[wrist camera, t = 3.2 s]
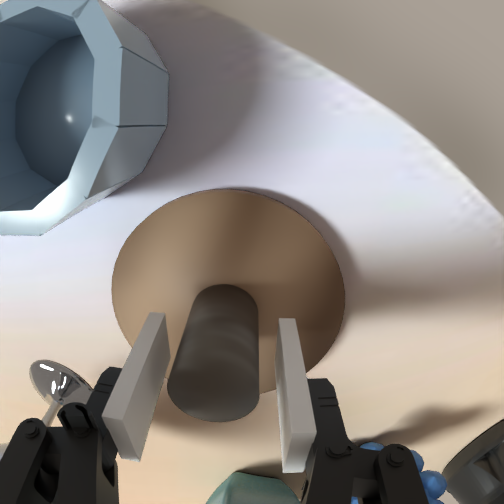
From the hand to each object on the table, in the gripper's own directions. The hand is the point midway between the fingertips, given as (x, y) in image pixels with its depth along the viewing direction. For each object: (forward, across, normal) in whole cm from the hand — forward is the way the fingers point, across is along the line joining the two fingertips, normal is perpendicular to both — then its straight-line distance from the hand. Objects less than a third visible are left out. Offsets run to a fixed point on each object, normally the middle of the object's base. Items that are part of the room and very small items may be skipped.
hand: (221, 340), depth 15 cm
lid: (+4, 0, 0) cm, 4 cm away
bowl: (+3, +8, -11) cm, 14 cm away
